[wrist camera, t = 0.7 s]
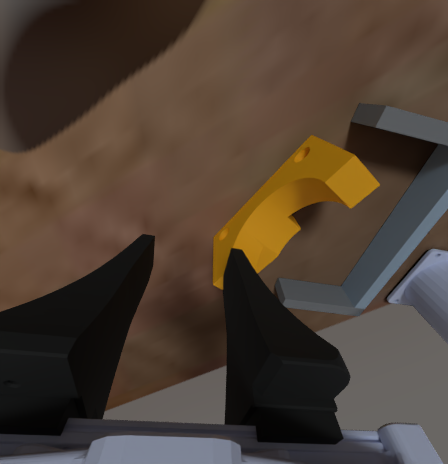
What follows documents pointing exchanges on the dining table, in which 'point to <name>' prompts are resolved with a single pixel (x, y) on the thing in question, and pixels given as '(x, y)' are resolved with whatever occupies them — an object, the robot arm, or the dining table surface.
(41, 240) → the dining table surface
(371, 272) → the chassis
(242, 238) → the pipe clamp
